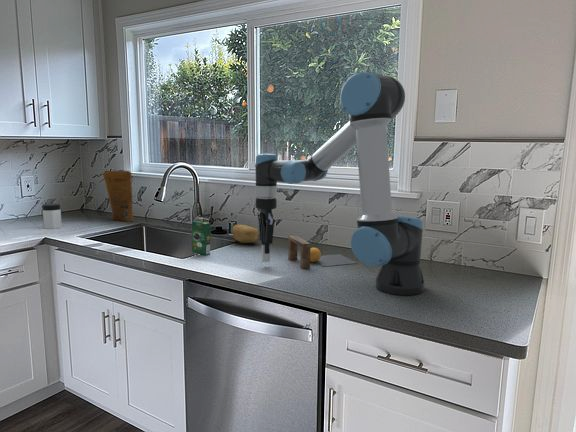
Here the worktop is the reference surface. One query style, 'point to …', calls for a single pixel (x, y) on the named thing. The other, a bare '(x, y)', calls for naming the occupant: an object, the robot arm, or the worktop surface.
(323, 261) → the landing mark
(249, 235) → the potato
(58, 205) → the jar
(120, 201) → the pancake mix bag
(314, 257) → the ball
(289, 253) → the bridge
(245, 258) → the worktop surface
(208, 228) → the coffee box
